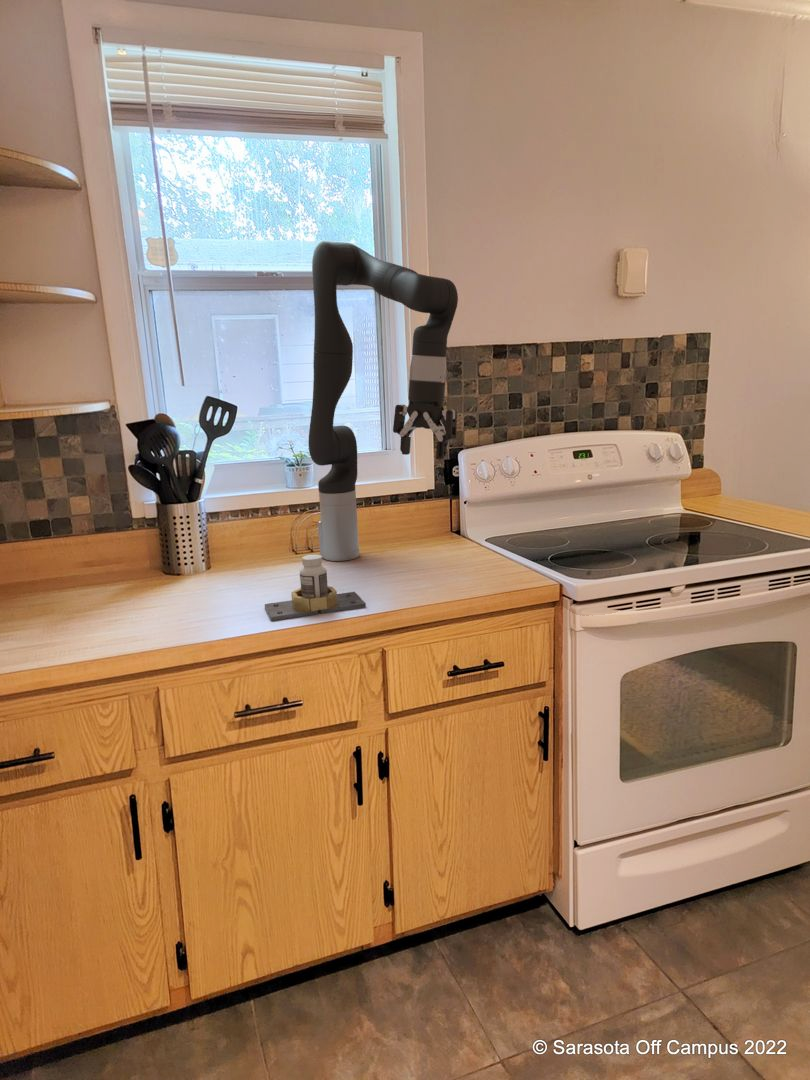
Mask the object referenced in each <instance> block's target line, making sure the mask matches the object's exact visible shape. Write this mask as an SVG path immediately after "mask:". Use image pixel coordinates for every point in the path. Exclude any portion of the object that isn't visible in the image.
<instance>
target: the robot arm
mask: <svg viewBox="0 0 810 1080" xmlns="http://www.w3.org/2000/svg"><path fill="white" fill-rule="evenodd" d="M311 267H312V268H311V269H312V270H311V272H312V286H313V288H312V290H313V302H314V304H313V305H314V340H313V363H312V364H313V382H312V384H313V385H312V405H311V412H310V413H311V415H310V420H309V421H310V423H309V429H308V442H307V443H308V451H309V455H310V458H311V460H312V461H313V463H315V465H317V466H323V467H324V466H330V465H331V467H330V470H329V471H328V473H327V474H326V475H325V476H323V477H321V479H319V480H318V484H317V487H318V498H319V500H318V501H319V511H320V513H319V514H320V520H318V521H317V531H318V532H317V533H318V534H317V535H318V543H319V544H318V545H319V555H321V556H322V559H324V560H327V561H331V562H343V561H344V562H345V561H351V560H354V559H357V558H358V557H360V545H359V529H358V528H359V526H358V525H359V524H358V510H357V507H358V506H357V493H356V482H357V479H358V444H357V438H356V435H355V433H354V431H353V429H351V428H350V427H349V426H347V425H334V421H335V420H334V419H335V411H336V409H337V405H338V403H339V401H340V399H341V398H342V395H343V393H344V391H345V390H346V388H347V386H348V384H349V382H350V380H351V377H352V372H353V358H354V356H353V355H354V347H353V340H352V337H351V335H350V334H349V331H348V329H347V327H346V325H345V323H344V320H343V318H342V316H341V315H340V311H339V306H338V299H337V298H338V297H337V296H338V295H337V286H345V287H346V286H353V285H358V286H367V287H370V288H372V289H373V290H374V291H375V292H376V293H377V294H378V295H380V296H382V297H383V298H386V299H387V300H388V299H389V300H391V301H395V302H397V303H401V305H403V306H405V307H406V308H408V309H410V310H412V311H415V312H417V313H424V314H429V317H428V319H427V322H426V323H425V324H423V325H419V326H417V327H416V328H415V329H414V331H413V333H412V335H413V336H412V349H411V350H412V352H411V359H410V365H409V378H408V379H409V381H408V396H407V397H408V399H407V400H408V405H407V406H406V405H405V404H396V405H395V407H394V416H393V425H392V431H393V433H396V434H398V435H399V436H400V445H399V446H400V448H399V449H400V452H401V454H402V455H410V453H411V441H412V440H411V439H412V437H411V435H412V433H413V432H414V431H415V430H416V429H420V428H422V429H426V430H427V429H428V430H429V429H430V430H431V432H432V433H433V434H434V435H435V436H436V439H437V440H438V441H437V442H436V451H435V459H436V460H439V461H441V460H443V459H444V458H445V457H446V456H447V447H448V442H449V441H451V440H456V439H457V435H458V434H457V430H458V429H457V425H458V424H457V423H458V411H457V410H456V409H444V402H445V395H446V394H445V393H446V379H447V349H448V348H447V347H448V336H449V333H450V330H451V328H452V327H451V326H452V323H453V320H454V318H455V314H456V311H457V308H458V302H459V295H458V289H457V286H456V285H455V282H453V281H452V280H450V279H448V278H443V277H437V276H432V275H425V274H420V273H418V272H417V271H415V270H413V269H411V268H409V267H407V266H406V267H404V266H402V265H398V264H396V263H393V262H388V261H386V260H385V261H384V260H381V259H379V258H377V257H376V256H374V255H372V254H370V253H368V252H367V251H365V250H364V249H362V248H361V247H358V246H357V245H355V244H353V243H349V242H341V241H334V240H333V241H332V240H322V241H321V240H320V241H319V242H318V243H317V244H316V246H315V248H314V250H313V255H312V265H311ZM407 414H408V416H409V418H408V419H407V420H406V416H407ZM443 418H444V420H445V426H444V424H443V422H442V419H443ZM405 421H406V422H405Z"/></svg>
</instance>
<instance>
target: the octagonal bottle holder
mask: <svg viewBox="0 0 810 1080" xmlns="http://www.w3.org/2000/svg"><path fill="white" fill-rule="evenodd" d="M362 608H367V604H366V602H365V601H364V600H363V599H362V598H361V597H360V596H359V594H358V593H357V592H356V591H348V592H342V593H337V590H336V589H335V587H333V586H329V585H328V594H327V595H325V596H320V597H312V598H308V597H302V594H301V587H300V588H297V589H295V590H293V591H291V600H285V601H284V600H283V601H277V602H271V603H264V609H265V611H266V612H267V615H268V617H269V619H270V622H274V620H275V621H281V620H280V619H282V620H288V618H289V619H294V618H295V617H296V618H302V616H303V617H308V616H315V615H319V613H320V614H323V615H324V614H328V613H329V614H330V613H335V612H342V611H343V612H344V611H350V610H356V609H357V610H358V609H362Z"/></svg>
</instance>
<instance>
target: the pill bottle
mask: <svg viewBox="0 0 810 1080" xmlns="http://www.w3.org/2000/svg"><path fill="white" fill-rule="evenodd" d="M301 563H302V565H303V566H302V567H301V568H300V569H299V580H300V581H299V582H300V588H301V594H302V597H308V598H312V597H320V596H325V595H327V594H328V586H329V585H328V574H327V568H326V566H324V565H322V564H323V558H322V556H321V555H320V554H308V555H307V554H306V555H304V556H302V558H301Z"/></svg>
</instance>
